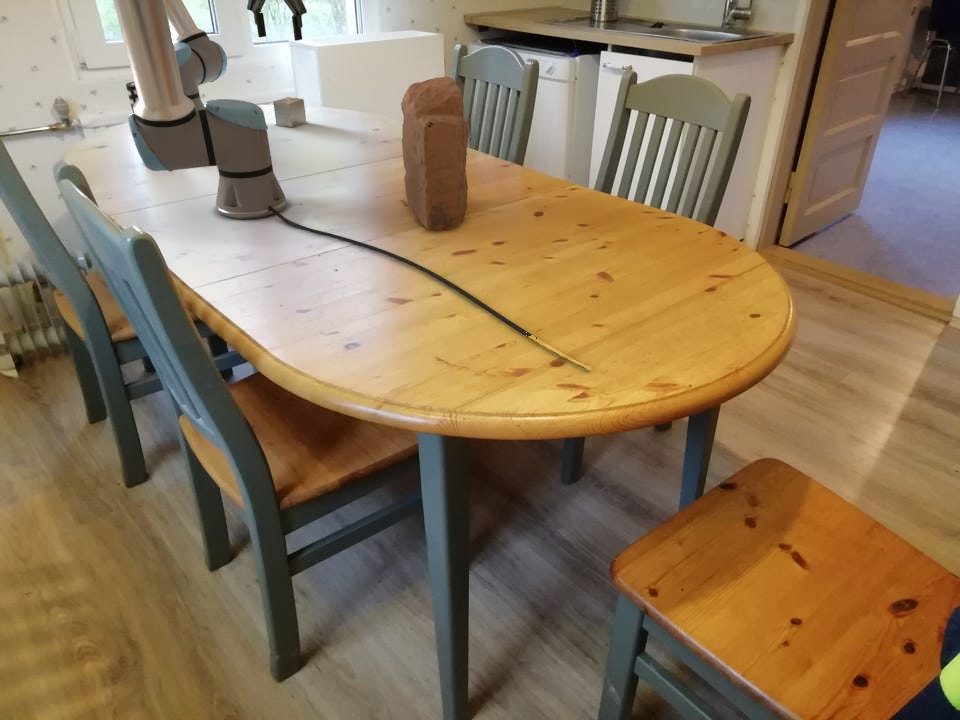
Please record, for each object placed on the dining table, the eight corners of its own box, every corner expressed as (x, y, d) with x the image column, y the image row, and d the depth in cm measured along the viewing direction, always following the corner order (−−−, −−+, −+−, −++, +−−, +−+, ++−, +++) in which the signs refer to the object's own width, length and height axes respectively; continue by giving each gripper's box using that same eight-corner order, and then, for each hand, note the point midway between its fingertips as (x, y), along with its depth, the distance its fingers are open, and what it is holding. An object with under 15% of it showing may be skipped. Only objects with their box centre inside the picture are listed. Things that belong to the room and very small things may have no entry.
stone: (478, 228, 148) (477, 89, 134) (427, 234, 145) (421, 93, 131) (450, 199, 166) (446, 74, 151) (404, 203, 163) (396, 76, 148)
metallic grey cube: (306, 122, 224) (303, 99, 220) (292, 127, 219) (289, 103, 215) (290, 120, 227) (287, 96, 223) (276, 125, 221) (273, 101, 217)
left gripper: (313, -42, 196) (321, 39, 208) (244, -45, 205) (256, 33, 216) (296, -41, 190) (306, 43, 202) (226, -44, 199) (239, 36, 211)
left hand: (280, 38), depth 209 cm, fingers open, 13 cm apart
